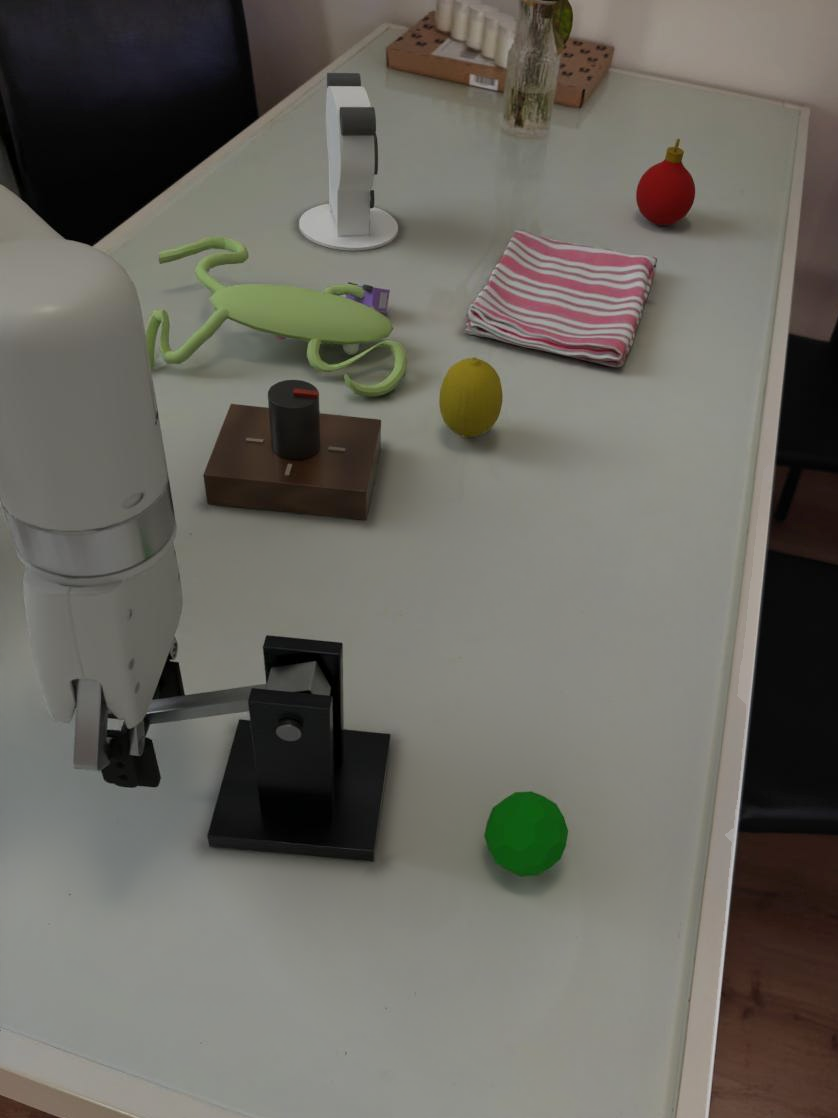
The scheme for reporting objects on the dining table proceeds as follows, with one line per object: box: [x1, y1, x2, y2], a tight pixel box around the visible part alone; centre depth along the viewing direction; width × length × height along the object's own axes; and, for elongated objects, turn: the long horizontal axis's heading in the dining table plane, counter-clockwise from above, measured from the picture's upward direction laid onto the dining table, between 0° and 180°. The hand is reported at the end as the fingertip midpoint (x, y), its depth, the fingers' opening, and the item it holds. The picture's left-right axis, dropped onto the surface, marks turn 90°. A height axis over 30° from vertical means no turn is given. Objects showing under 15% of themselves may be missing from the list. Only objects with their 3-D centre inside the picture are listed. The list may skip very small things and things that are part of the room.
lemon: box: [438, 357, 504, 439], centre depth 90 cm, size 6×6×8 cm
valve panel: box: [202, 403, 382, 521], centre depth 86 cm, size 13×10×3 cm
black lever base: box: [206, 634, 392, 863], centre depth 61 cm, size 10×9×12 cm
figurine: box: [145, 236, 408, 398], centre depth 100 cm, size 18×27×6 cm
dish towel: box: [464, 229, 658, 368], centre depth 110 cm, size 17×23×4 cm
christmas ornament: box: [635, 138, 696, 226], centre depth 124 cm, size 7×7×10 cm
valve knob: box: [267, 379, 321, 460], centre depth 83 cm, size 4×4×5 cm
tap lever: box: [119, 661, 331, 738], centre depth 59 cm, size 12×5×2 cm, turn 87°
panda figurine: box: [298, 72, 399, 252], centre depth 113 cm, size 12×11×15 cm
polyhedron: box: [483, 791, 569, 877], centre depth 62 cm, size 5×5×5 cm
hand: (146, 740), depth 62 cm, fingers closed on tap lever, 5 cm apart
